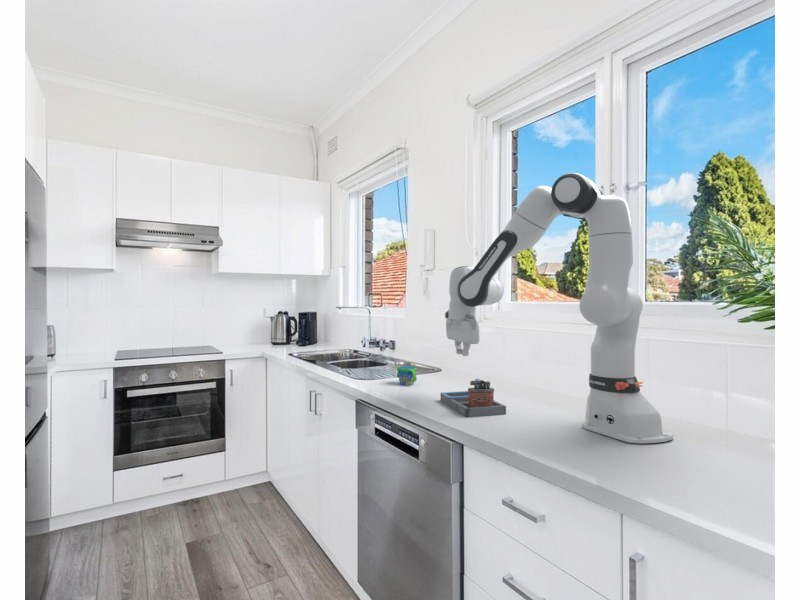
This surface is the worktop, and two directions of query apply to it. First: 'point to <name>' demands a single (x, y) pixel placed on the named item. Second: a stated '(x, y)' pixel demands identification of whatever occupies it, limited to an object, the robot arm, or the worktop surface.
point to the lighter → (481, 394)
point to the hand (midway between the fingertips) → (462, 354)
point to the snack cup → (406, 375)
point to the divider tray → (461, 404)
